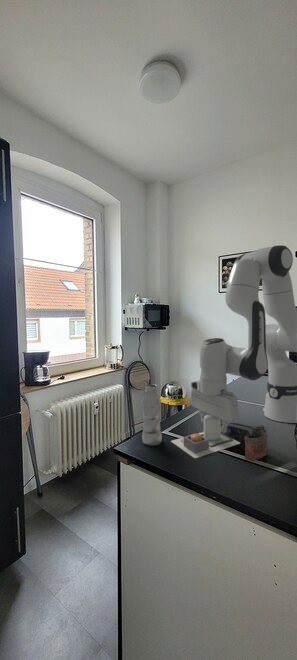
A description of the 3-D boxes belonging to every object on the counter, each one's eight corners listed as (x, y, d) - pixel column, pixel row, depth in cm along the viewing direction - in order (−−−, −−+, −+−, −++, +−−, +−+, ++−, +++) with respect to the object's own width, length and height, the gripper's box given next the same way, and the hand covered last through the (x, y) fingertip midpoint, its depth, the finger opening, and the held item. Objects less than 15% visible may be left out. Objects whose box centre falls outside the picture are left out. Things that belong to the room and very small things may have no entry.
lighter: (250, 466, 78) (250, 431, 77) (241, 460, 81) (241, 427, 80) (269, 459, 81) (270, 426, 81) (260, 454, 84) (260, 422, 84)
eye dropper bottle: (220, 442, 90) (220, 406, 89) (203, 440, 91) (203, 405, 91) (220, 436, 94) (220, 402, 93) (204, 434, 96) (204, 401, 95)
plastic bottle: (160, 450, 88) (159, 388, 87) (139, 448, 89) (138, 388, 88) (163, 441, 94) (162, 384, 93) (144, 439, 95) (143, 383, 94)
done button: (197, 438, 89) (196, 432, 89) (203, 442, 86) (203, 436, 86) (188, 441, 87) (188, 435, 87) (195, 445, 84) (195, 439, 84)
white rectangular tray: (213, 432, 100) (213, 421, 100) (240, 446, 89) (240, 434, 89) (170, 444, 91) (170, 432, 91) (194, 462, 80) (194, 448, 80)
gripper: (244, 392, 84) (244, 436, 85) (201, 379, 102) (201, 415, 103) (229, 395, 81) (229, 441, 82) (187, 381, 99) (187, 419, 100)
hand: (213, 426), depth 92 cm, fingers open, 8 cm apart
